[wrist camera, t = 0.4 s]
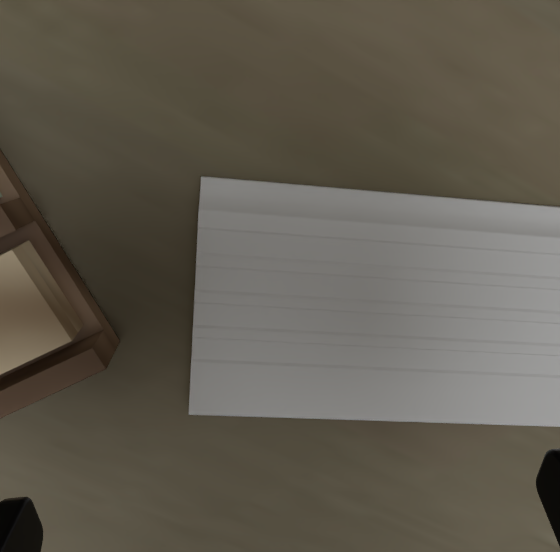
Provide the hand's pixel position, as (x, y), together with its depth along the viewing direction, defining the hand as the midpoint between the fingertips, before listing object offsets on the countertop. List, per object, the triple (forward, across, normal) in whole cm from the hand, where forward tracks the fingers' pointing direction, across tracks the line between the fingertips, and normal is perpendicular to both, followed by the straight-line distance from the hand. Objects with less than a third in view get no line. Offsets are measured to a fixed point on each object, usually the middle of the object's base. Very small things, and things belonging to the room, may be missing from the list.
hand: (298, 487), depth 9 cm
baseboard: (+13, -13, +6) cm, 19 cm away
